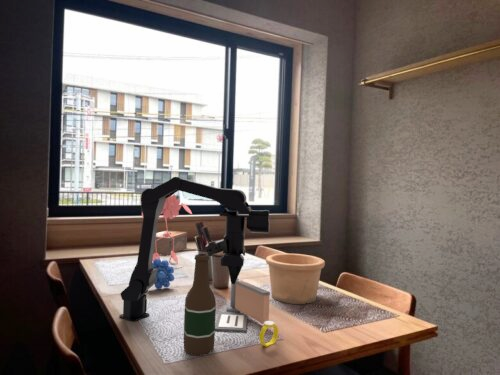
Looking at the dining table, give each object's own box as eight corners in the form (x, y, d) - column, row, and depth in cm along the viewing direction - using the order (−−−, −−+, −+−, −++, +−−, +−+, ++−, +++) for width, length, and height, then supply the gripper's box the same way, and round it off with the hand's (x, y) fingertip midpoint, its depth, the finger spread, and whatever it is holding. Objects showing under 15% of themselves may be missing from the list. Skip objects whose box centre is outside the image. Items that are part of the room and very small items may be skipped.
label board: (220, 307, 127) (221, 304, 127) (247, 308, 127) (247, 305, 127) (214, 330, 108) (214, 326, 108) (245, 332, 108) (246, 327, 107)
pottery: (325, 292, 150) (326, 256, 150) (320, 310, 129) (322, 268, 128) (271, 286, 156) (273, 251, 155) (258, 302, 134) (260, 262, 134)
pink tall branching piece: (136, 265, 181) (139, 193, 180) (182, 260, 199) (185, 193, 197) (151, 273, 170) (155, 195, 169) (199, 266, 187) (202, 195, 186)
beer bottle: (215, 343, 100) (218, 252, 99) (213, 356, 92) (216, 258, 91) (185, 342, 99) (188, 251, 99) (180, 356, 92) (184, 257, 91)
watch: (265, 350, 97) (264, 328, 97) (257, 347, 99) (257, 324, 99) (280, 342, 101) (280, 320, 101) (272, 339, 103) (272, 318, 103)
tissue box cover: (165, 246, 237) (165, 230, 237) (186, 248, 234) (187, 232, 233) (144, 253, 212) (144, 236, 212) (167, 256, 209) (168, 238, 208)
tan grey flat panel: (228, 305, 125) (229, 278, 125) (235, 304, 126) (236, 277, 126) (262, 324, 110) (263, 293, 110) (269, 322, 111) (270, 292, 111)
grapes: (146, 293, 139) (147, 261, 139) (142, 288, 145) (143, 257, 145) (177, 290, 145) (178, 259, 144) (172, 285, 151) (173, 255, 150)
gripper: (211, 226, 123) (210, 274, 123) (203, 235, 104) (201, 291, 104) (246, 228, 122) (244, 276, 123) (244, 236, 104) (242, 293, 104)
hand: (233, 283), depth 113 cm, fingers closed
